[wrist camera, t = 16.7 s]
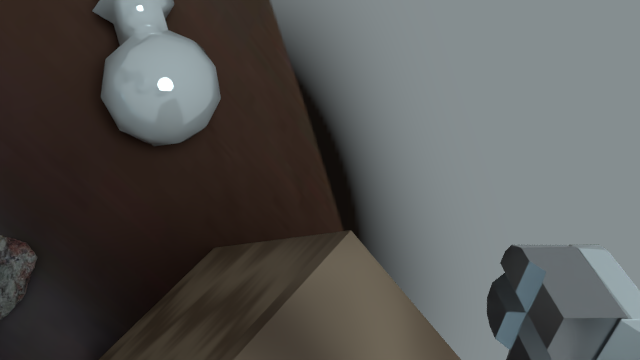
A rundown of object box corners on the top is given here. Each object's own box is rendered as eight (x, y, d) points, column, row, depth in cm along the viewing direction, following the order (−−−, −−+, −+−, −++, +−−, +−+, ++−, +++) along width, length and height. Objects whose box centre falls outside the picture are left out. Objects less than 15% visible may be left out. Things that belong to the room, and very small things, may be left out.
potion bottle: (152, 168, 51) (109, 19, 53) (250, 131, 50) (202, -21, 52) (93, 156, 42) (44, -23, 44) (210, 111, 41) (154, -73, 43)
